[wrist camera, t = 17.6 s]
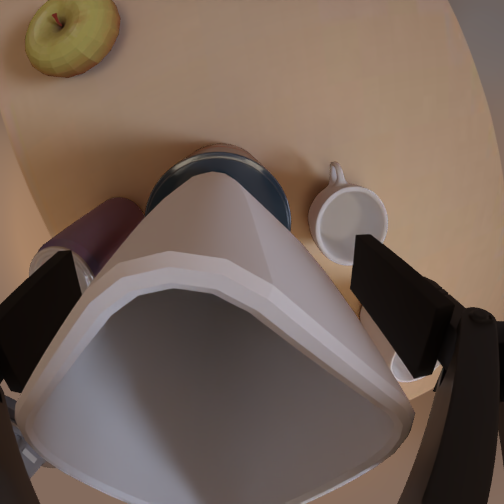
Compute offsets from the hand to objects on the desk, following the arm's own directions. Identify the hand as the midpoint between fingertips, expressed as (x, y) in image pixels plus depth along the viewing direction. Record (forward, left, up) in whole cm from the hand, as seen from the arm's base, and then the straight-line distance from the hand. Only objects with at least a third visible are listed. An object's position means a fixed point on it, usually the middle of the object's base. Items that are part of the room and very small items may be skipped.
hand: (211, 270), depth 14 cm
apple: (-14, +18, -20) cm, 30 cm away
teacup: (+12, -2, -20) cm, 23 cm away
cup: (0, 0, -6) cm, 6 cm away
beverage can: (-11, -3, -20) cm, 23 cm away
